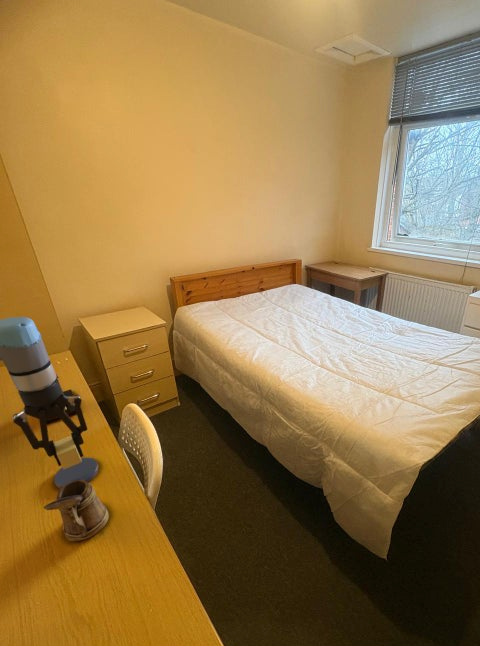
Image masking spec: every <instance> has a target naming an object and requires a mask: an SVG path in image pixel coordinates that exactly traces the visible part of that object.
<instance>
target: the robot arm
mask: <svg viewBox="0 0 480 646" xmlns="http://www.w3.org/2000/svg"><path fill="white" fill-rule="evenodd" d="M1 361H2V362H3V364H4V366H5V368H6V370H7V372H8V374H9V376H10V379H11V381H12V383H13V385H14V386H15V388H16V390H17V393H18V395H19V397H20V400H21V401H22V403H23V405H24V407H23V410H22V411H21V412H20V413H14V414H13V415H12V421H13V424H15V425H17V426H18V427H20V429H21V430H22V433H23V434H24V435H25V437H26V439H27V441H28V442H29V444H30V446H31V447H32V449H33V451H34V450H35V451H36V450H39V449H44V451H45V453H46V456H47V457H49V458H51V457H54V459H55V461H56V463H57V466H58V467H62V465H61V463H60V461H59V459H58V456H57V453H56V448H55V444H54V442H55V441H54V440H52V439H51V440H50V439H49V431H48V424H47V422H46V420H47V419H50V418H51V417H56V416H58V417H59V418H60V419H61V421H62V422H63V423H64V424H65V425H66V427H67V428H68V429H69V431H70V432H71V433H70V436H72V439H73V441H74V444H75V446H76V448H77V451H78V453H79V455H80V458H84V453H83V450H82V447H81V445H83V444H85V441H84V438H83V436H82V433H83V432H86V431H88V426H87V423H86V420H85V416H84V414H83V411H82V408H81V406H82V398H81V395H80V394H78V393H77V394H74V395H73V396H71V397H68V396H67V395H66V394H64V393H63V392H64V391H63V389H62V386H61V384H60V381H59V378H57V379H56V377H57V376H56V374H57V373H56V371H55V369H54V367H53V364H52V361H51V360H50V357H49V354H48V352H47V349H46V345H45V344H44V341H43V339H42V334H41V333H40V331H39V330H38V328H37V326H36V323H35V322H34V321H33V319H31V318H30V317H27V316H12V317H6V318H2V319H0V362H1ZM67 402H70V404H71V405H73V406H74V408H75V411H76V414H75V415H76V417H77V420H78V423H79V426H78V425H76V423H75V422H74V421H73V419H72V418H71V416H70V417H69V416H68V415H67V413H66V412H65V410H64V409H65V407H66V405H67ZM28 416H29V417H32V418H35V419H38V421H39V428H40V434H41V440H39V438H38V437H37V436H36V434H35V432H34V431H33V428H32V427H31V424H30V423H29V421H28Z"/></svg>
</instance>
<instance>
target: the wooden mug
mask: <svg viewBox="0 0 480 646" xmlns="http://www.w3.org/2000/svg"><path fill="white" fill-rule="evenodd" d="M43 509H44V510H46V511H55V510H58V511H59V513H60V516H61V517H60V518H61V520H62V524H63V525H62V530H63V533H64V537H65V538H66V539H67V540H68V541H70V542H79V541H83V540H86V539H90V538H92V537H93V536H95V535H96V534H98V533H99V532H101V530H102V529H103V528H105V526H106V524H107V523H108V521H109V518H110V517H109V516H110V515H109V511H108V509H107V507H106V506H105V504H104V503H102V501H101V500H100V498H99V497H98V495H97V494H96V490H95V488H94V487H93V486H92V484H91V483H89V482H87V481H86V480H82V479H78V480H74V481H71V482H69V483H67V484H65V485H64V486H63V487H62V488H61V489H59V490H58V492H57V495H56V500H54V501H51V502H50V503H48V504H46V505H44V506H43Z"/></svg>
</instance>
